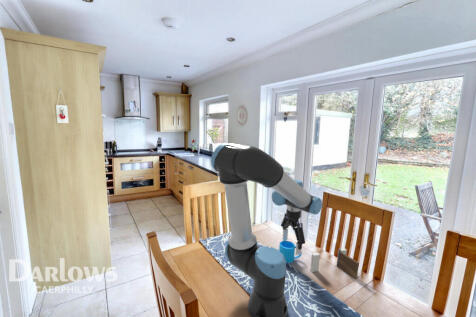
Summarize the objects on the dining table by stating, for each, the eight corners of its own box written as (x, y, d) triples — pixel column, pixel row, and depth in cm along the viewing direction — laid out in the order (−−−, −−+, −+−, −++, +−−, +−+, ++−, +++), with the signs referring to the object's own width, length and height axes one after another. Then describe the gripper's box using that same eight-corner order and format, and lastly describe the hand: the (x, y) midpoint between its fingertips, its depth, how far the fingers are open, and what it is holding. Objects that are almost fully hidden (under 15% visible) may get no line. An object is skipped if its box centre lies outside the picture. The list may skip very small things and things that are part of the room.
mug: (279, 262, 117) (280, 248, 116) (278, 253, 125) (279, 240, 124) (302, 264, 116) (303, 250, 114) (299, 255, 124) (301, 242, 122)
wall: (344, 265, 116) (346, 249, 114) (312, 272, 110) (314, 254, 108) (342, 264, 117) (344, 247, 116) (310, 270, 111) (312, 252, 110)
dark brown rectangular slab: (341, 265, 115) (343, 251, 114) (358, 277, 107) (360, 262, 106) (338, 267, 114) (340, 252, 113) (355, 278, 106) (357, 263, 105)
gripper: (314, 218, 105) (311, 259, 109) (287, 200, 129) (285, 234, 132) (301, 220, 103) (298, 262, 107) (276, 201, 126) (274, 236, 130)
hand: (291, 246), depth 119 cm, fingers open, 13 cm apart
